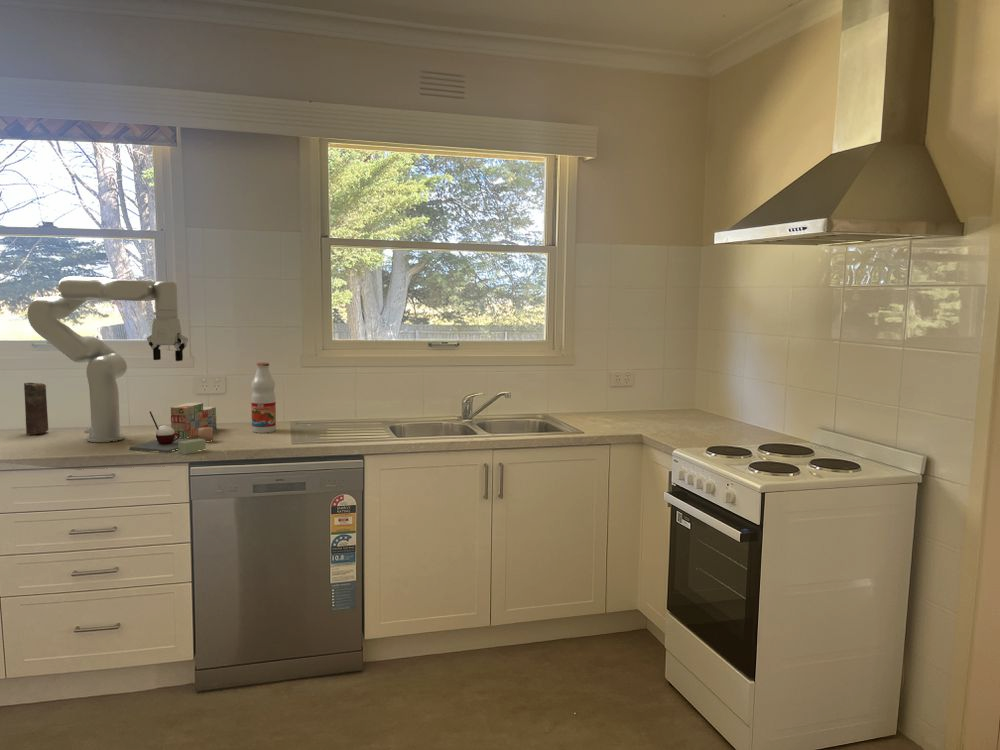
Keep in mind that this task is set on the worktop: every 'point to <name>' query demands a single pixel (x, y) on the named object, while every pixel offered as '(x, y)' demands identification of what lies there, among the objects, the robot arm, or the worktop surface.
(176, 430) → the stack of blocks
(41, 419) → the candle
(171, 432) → the cocoa
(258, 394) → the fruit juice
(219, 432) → the worktop surface
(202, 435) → the terracotta cylinder
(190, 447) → the green brick
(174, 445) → the mat
